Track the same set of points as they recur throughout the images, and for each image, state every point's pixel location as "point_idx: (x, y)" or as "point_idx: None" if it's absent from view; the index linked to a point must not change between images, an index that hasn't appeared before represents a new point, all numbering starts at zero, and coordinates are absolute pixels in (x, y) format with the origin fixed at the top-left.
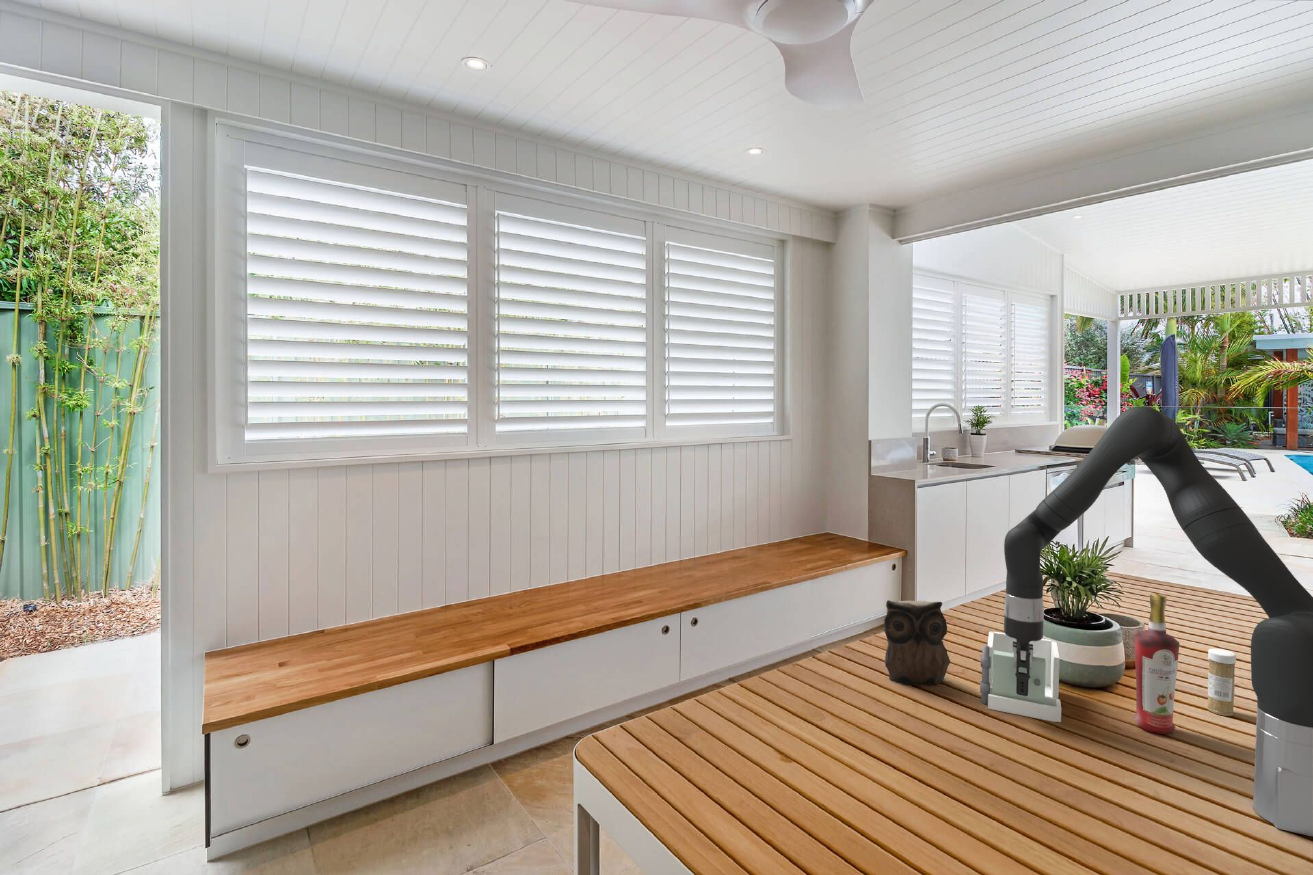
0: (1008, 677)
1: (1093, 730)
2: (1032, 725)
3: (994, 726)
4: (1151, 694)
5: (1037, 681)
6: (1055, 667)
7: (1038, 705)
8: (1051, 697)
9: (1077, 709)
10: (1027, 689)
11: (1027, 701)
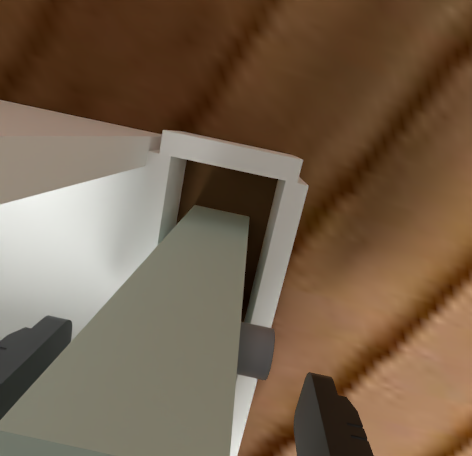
0: None
1: (350, 8)
2: (358, 290)
3: (399, 428)
4: None
5: (269, 361)
6: (7, 181)
7: (284, 274)
8: (148, 174)
9: (100, 18)
10: (339, 408)
11: (253, 319)
